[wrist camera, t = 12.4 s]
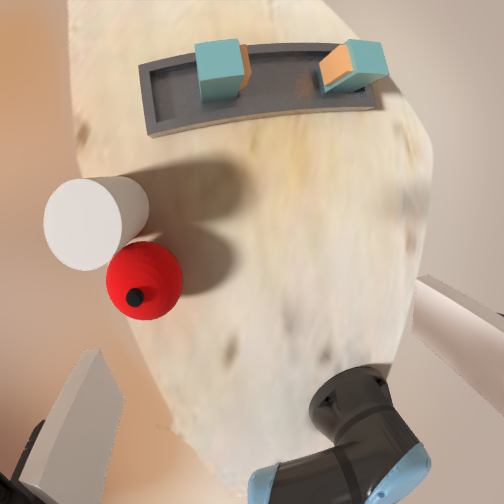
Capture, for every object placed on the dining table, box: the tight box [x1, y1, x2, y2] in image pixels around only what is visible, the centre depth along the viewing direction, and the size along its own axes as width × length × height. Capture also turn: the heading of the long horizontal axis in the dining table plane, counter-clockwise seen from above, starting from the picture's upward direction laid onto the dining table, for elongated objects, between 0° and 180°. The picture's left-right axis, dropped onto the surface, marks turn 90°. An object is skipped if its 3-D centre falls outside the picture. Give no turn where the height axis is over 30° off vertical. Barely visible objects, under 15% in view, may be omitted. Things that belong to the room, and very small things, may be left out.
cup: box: [44, 176, 149, 271], centre depth 28 cm, size 8×8×12 cm
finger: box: [195, 38, 252, 104], centre depth 26 cm, size 4×5×9 cm
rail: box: [138, 43, 376, 138], centre depth 31 cm, size 9×28×3 cm, turn 100°
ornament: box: [106, 241, 183, 320], centre depth 31 cm, size 9×9×10 cm
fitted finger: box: [319, 39, 389, 92], centre depth 28 cm, size 4×5×9 cm
